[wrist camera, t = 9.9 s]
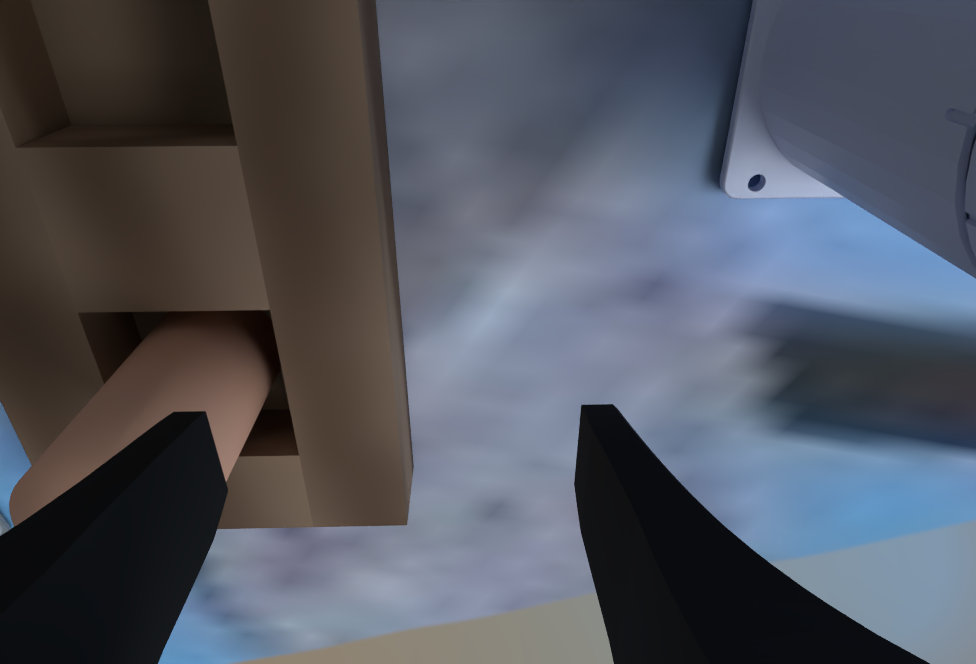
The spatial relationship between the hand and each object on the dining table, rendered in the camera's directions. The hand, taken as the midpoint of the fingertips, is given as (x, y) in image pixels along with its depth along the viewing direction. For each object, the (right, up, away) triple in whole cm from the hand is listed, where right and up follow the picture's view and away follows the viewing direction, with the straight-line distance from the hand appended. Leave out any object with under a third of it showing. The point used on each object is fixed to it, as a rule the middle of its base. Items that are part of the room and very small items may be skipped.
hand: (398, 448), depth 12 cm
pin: (-7, +2, +9) cm, 12 cm away
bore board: (-7, +6, +7) cm, 12 cm away
